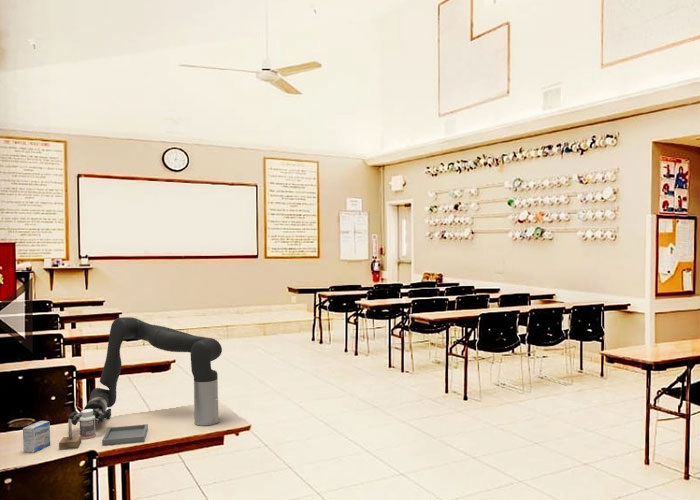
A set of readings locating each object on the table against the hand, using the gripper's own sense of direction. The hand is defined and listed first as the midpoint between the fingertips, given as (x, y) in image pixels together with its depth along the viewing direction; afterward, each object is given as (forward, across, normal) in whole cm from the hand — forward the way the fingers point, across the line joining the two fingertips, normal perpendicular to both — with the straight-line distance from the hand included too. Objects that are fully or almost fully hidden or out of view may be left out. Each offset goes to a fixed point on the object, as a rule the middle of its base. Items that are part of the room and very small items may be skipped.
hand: (86, 421), depth 206 cm
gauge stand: (+8, -4, +6) cm, 11 cm away
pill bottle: (-1, 0, +6) cm, 6 cm away
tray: (+4, +14, +6) cm, 16 cm away
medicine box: (+7, -15, +6) cm, 18 cm away
